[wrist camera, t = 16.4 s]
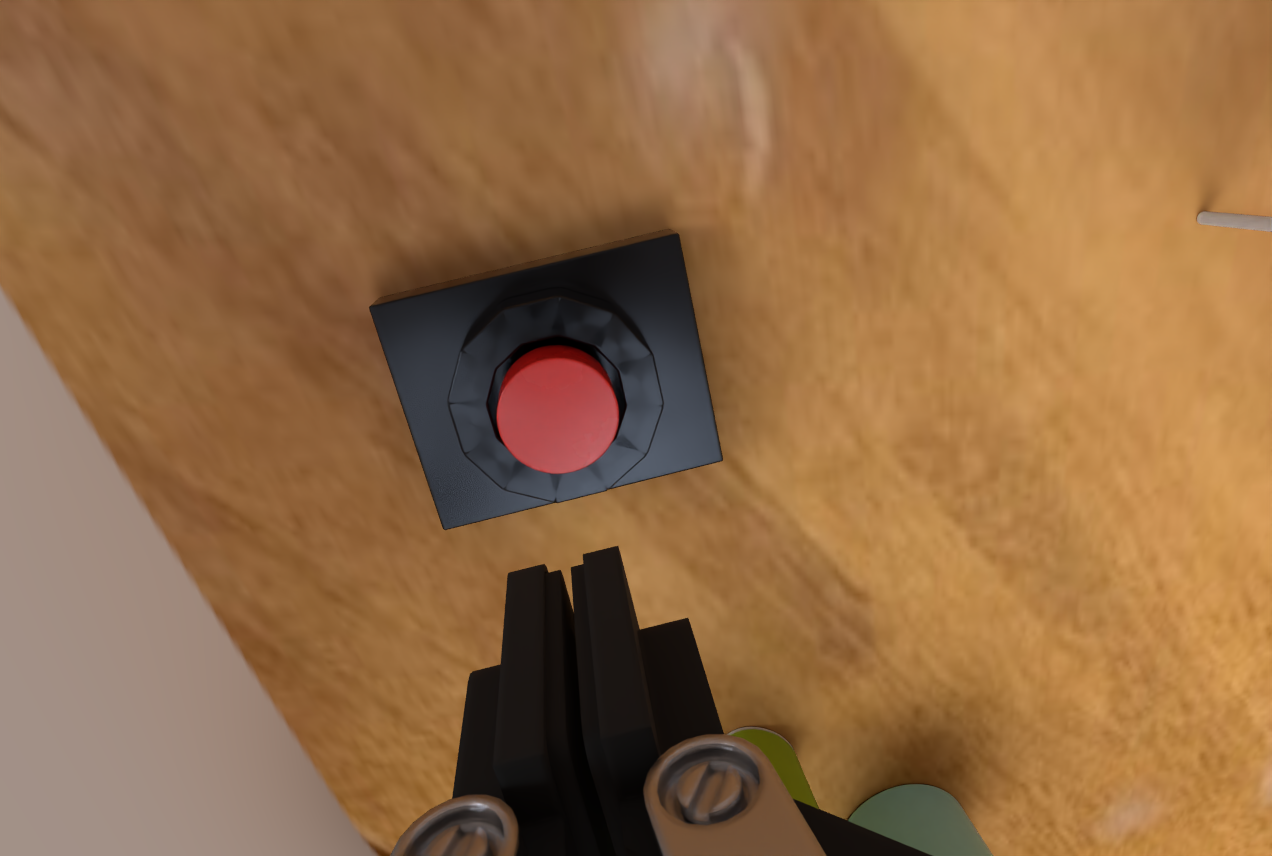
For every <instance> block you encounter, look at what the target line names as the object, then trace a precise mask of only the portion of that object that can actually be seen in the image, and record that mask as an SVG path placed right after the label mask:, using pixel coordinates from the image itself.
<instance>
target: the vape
mask: <svg viewBox="0 0 1272 856" xmlns="http://www.w3.org/2000/svg"><path fill="white" fill-rule="evenodd" d="M727 735H731V736H736V737H740V738H743V739H745V740H747V741H749V742H751V743H752V744H754V745H756V746H758V747H759V749H760V750H761V751H762V752H763V753H764V754H765V755H766V756H767V758H768V759H769V760H770V762H771V764H772V765H773V767H774V769H775V770H776V772H777V774H778V775H779V777H780V779H781V780H782V782H783V784H784V785H785V787H786V789H787V790H788V792H789V794H790V795H791V797H792V798H793V799H795V800H798V801H800V802H803V803H805V804H808V805H810V806H812V807H815V808H817V809H819V808H818V805H817V803H816V801H815V798H814V796H813V794H812V791H811V789H810V787H809V784H808V782H807V780H806V777H805V775H804V773H803V770H802V768H801V766H800V763H799V761H798V758H797V756H796V754H795V752H794V749H793V747H792V746H791V744H790V743H789V742H788V741H787V740H786V739H785V738H784V737H782V736H781V735H779V734H778V733H776V732H774V731H771V730H768V729H765V728H761V727H743V728H739V729H736V730H733V731H732V732H730V733H728V734H727Z"/></svg>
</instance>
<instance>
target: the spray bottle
mask: <svg viewBox="0 0 1272 856" xmlns="http://www.w3.org/2000/svg"><path fill="white" fill-rule="evenodd" d="M848 821H849V822H852V823H854V824H856V825H859V826H861V827H864V828H866V829H869V830H871V831H874V832H876V833H878V834H881V835H883V836H886V837H888V838H891V839H893V840H896V841H898V842H900V843H903V844H905V845H908V846H910V847H913V848H915V849H918V850H920V851H922V852H925V853H927V854H930V855H932V856H993V854H992V853H991V851H990V850H989V848H988V847H987V845H986V844H985V842H984V841H983V839H982V838H981V836H980V834H979V833H978V831H977V830H976V828H975V827H974V825H973V824H972V822H971V821H970V819H969V818H968V816H967V814H966V813H965V811H964V810H963V808H962V807H961V805H960V804H959V802H958V801H957V800H956V799H955V798H954V797H953V796H952V795H950V794H949V793H947V792H946V791H944V790H942V789H940V788H937V787H934V786H930V785H924V784H908V785H901V786H897V787H893V788H890V789H887V790H885V791H883V792H880V793H878V794H877V795H875V796H873V797H871V798H870V799H868V800H867V801H866V802H864V803H863V804H862V805H861V806H860V807H859V808H858V809H857V810H856V811H855V812H854V813H853V814H852V815H851V817H850V818H849V820H848Z"/></svg>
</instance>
